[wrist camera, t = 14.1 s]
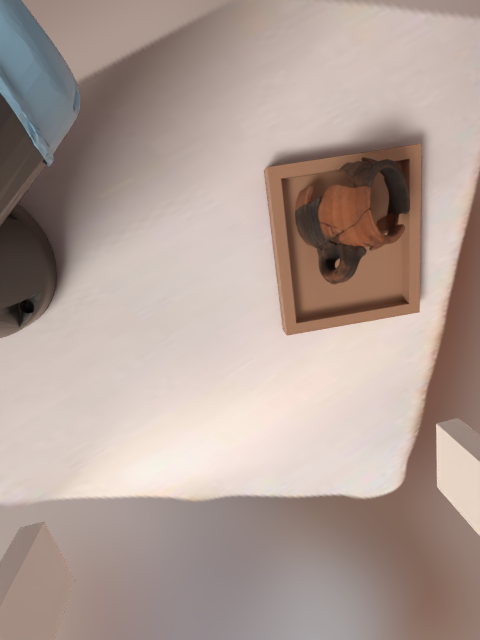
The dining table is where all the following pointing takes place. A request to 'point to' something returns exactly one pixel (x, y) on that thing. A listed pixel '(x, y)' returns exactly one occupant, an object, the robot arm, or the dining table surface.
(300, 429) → the dining table surface
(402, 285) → the serving tray
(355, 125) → the dining table surface
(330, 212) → the pottery mug
